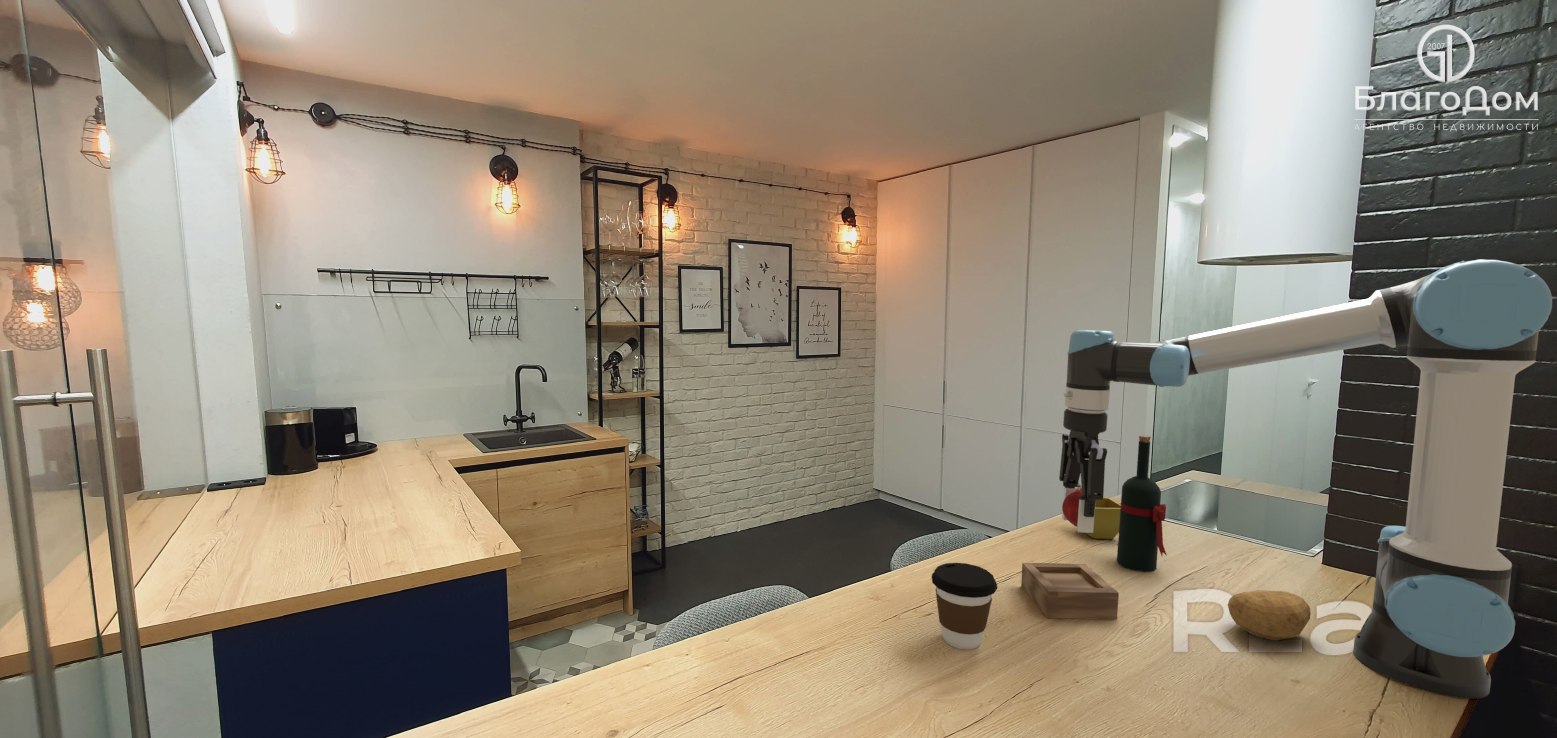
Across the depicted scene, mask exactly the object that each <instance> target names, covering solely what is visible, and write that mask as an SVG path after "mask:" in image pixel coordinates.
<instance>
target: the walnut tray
mask: <svg viewBox="0 0 1557 738" xmlns="http://www.w3.org/2000/svg"><path fill="white" fill-rule="evenodd" d="M1020 584H1021V585H1020V587H1021V589H1023V590H1024V592H1025V594H1027V595H1028V596H1029V598H1030V599H1031V600H1032V601H1033V602H1034V603H1035V605H1036V606H1037V607H1038V608H1039V610H1041V612H1042V613H1043V615H1044V616H1045V617H1046V618H1047V619H1084V620H1085V619H1087V620H1118V612H1119V611H1118V609H1119V594H1120V592H1118V590H1117V589H1115V588H1114V587H1113V586H1112V585H1110V584H1109V583H1108V582H1107V581H1105V580H1104V578H1102V577H1101V576H1100V575H1099V574H1097V573H1096V572H1095V571H1094V570H1093V569H1092V568H1090V567H1089V566H1088V565H1087V564H1086V563H1054V562H1050V563H1049V562H1044V563H1043V562H1022V563H1021V580H1020Z"/></svg>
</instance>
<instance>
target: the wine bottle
mask: <svg viewBox="0 0 1557 738" xmlns="http://www.w3.org/2000/svg"><path fill="white" fill-rule="evenodd" d="M1151 438H1152V437H1151V436H1149V435H1138V439H1139V440H1138V446H1137V447H1138V448H1137V451H1138V452H1137V462H1136V463H1137V465H1136V475H1134V476H1132V477H1130V478H1128V479H1127V480H1126V481H1124V483H1123V484H1122V486H1121V496H1120V497H1121V498H1120V505H1121V509H1120V523H1119V533H1118V536H1117V537H1118V539H1117V540H1118V541H1117V553H1116V562H1117V564H1118V565H1119V566H1122V567H1123V568H1126V569H1128V570H1131V571H1136V572H1143V573H1149V572H1150V573H1152V572H1154V571H1156V570H1157V566H1158V553H1159V552H1160V555H1161V557H1163V555H1165V556H1167V555H1168V554H1167V552H1166V549H1165V546H1164V539H1163V538H1164V537H1163V536H1164V535H1163V522H1165V519H1166V515H1167V514H1166V512H1167V506H1166V503H1165V504H1162V502H1161V501H1162V498H1161V497H1162V491H1161V488H1160V487H1159V485H1158V484H1157V483H1156V481H1154V480H1153V479H1152V478H1150V477H1149V467H1150V453H1151V451H1150V450H1151V448H1150V447H1151V442H1150V441H1151ZM1158 551H1159V552H1158Z"/></svg>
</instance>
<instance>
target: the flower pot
mask: <svg viewBox="0 0 1557 738" xmlns="http://www.w3.org/2000/svg"><path fill="white" fill-rule="evenodd" d="M1120 509H1121V503H1119V502H1117V501H1115V500H1113V499H1111V498H1110V497H1103V500H1096V502H1095V515H1094V528H1093V533H1086V534H1087V535H1088V536H1090V537H1091V538H1092V539H1096V540H1097V539H1099V540H1100V539H1101V540H1112V539H1115V537H1116V536H1117V535H1119V523H1120Z"/></svg>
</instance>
